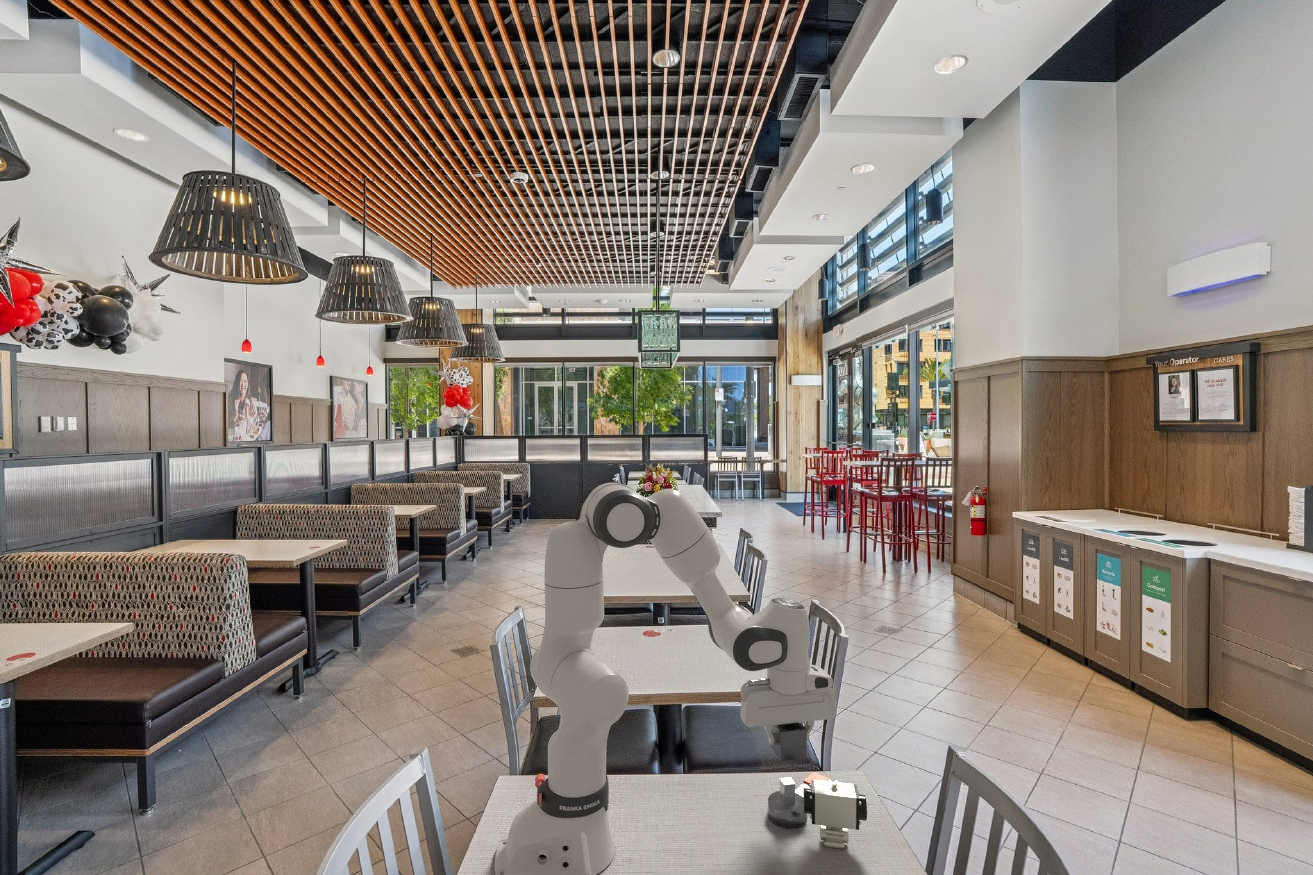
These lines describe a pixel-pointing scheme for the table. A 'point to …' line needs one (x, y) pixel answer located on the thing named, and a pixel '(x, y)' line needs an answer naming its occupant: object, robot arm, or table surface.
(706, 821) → the table surface
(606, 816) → the robot arm
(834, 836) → the pneumatic valve
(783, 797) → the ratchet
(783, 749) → the open square container
